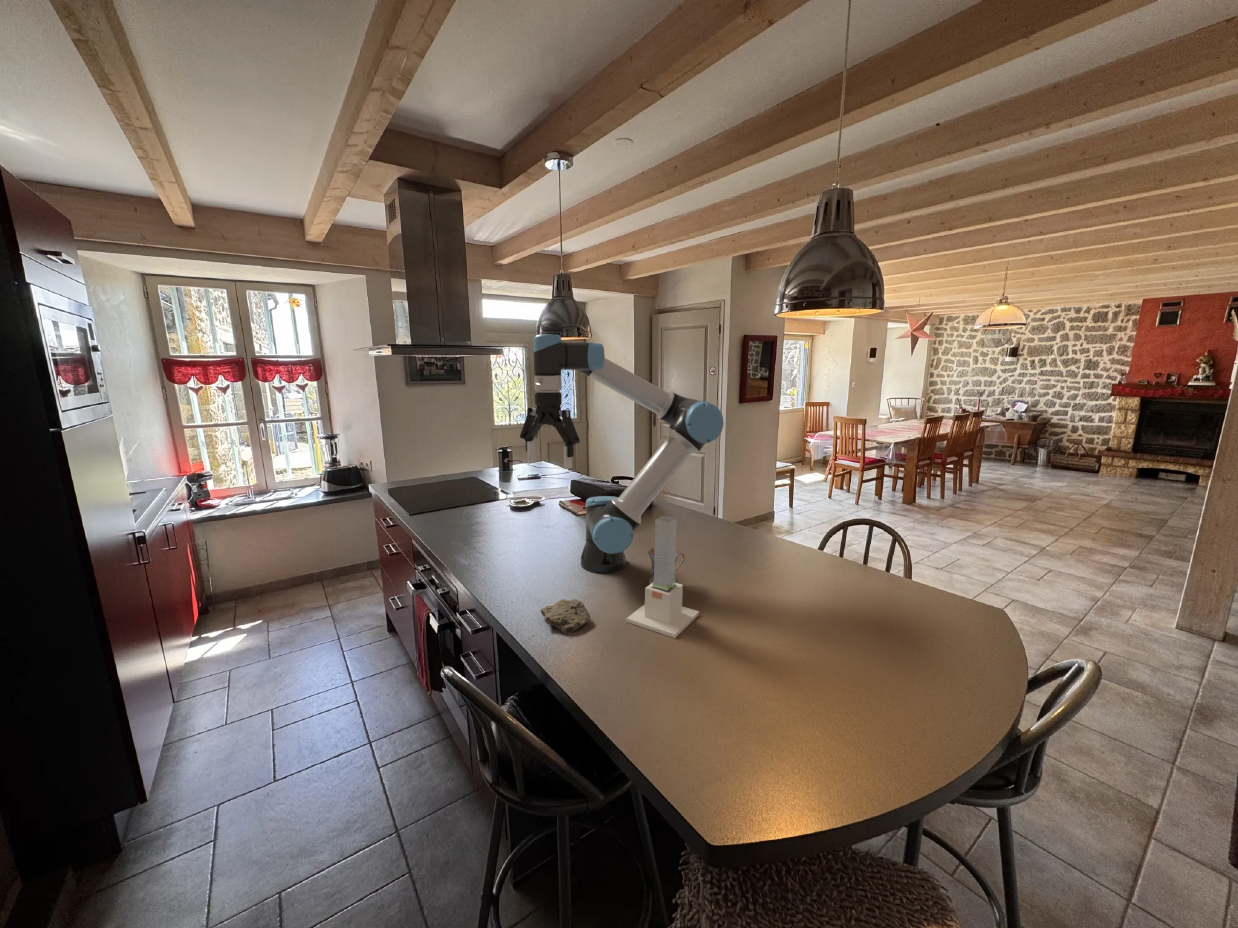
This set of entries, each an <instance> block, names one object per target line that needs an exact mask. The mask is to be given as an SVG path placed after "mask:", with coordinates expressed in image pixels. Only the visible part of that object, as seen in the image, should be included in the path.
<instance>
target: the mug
mask: <svg viewBox="0 0 1238 928" xmlns="http://www.w3.org/2000/svg"><path fill="white" fill-rule="evenodd" d="M647 552H648V555H649V558H650V562H651V568H652V569H651V570H652V571H651V575H650V578H649V580H648V584H649V585H650V584H651V583H653V582H654V554H655V547H651V548H650V549H649V550H648V551H647ZM680 555H681V556H682V558H681V560H680V562H679V564H678V565H677V566H675V572H676V571H677V570H678V569H679V568H680V567H681V566H682V565H683V562H684V560H685V555H684V553H682V552H680V551H679V550H678V549H676V558H675V565H676V563H677V560H678V558H679V556H680ZM675 583H678V582H677V578H675Z"/></svg>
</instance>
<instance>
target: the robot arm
mask: <svg viewBox="0 0 1238 928" xmlns="http://www.w3.org/2000/svg"><path fill="white" fill-rule="evenodd" d="M604 347H605V346H604V345H603V344H602V343H597V342H565V341H563V340H562V337H561V335H559V334H552V333H551V334H550V333H549V334H548V333H540V334H539V333H538V334H536V335H535V336H534V337H533V370H534V371H533V372H534V380H533V381H534V390H535V393H534V405H535V407H534V406H533V407H528V408H527V411H526V412H527V413H526V417H525V420H524V424H523V426H522V429H521V431H520V435H519V438H520V439H523V440H524V441H525V451H526V457H527V464H528V465H530V464H534V463H536V462H537V461H536V460H537V458H536V440H535V437H536V436H537V434H538V433H539V431H540V430H541V428H542V426H543V425H548V426H553V427H554V428H555V430H556V431H557V432H558V434H559V436H560V437H561V439H562V441H563V442H564V445H563V470H568V469H572V468H573V457H574V456H575V455H574V452H575V450H574V449H575V448H574V446H575V445H577V444H580V443H581V440H580V438H579V435H578V432H577V430H576V428H575V425H574V422H573V419H572V417H571V410H570V409H568V408H567V409H561V405H562V404H563V403H562V401H563V399H562V398H563V396H562V395H563V394H562V392H561V390H563V389H562V388H563V387H562V386H563V385H562V383H563V382H562V371H568V370H569V371H577V372H579V373H581V374H583V375H584V376H586V377H589V378H590V379H592V380H594V381H595V382H598V383H599V384H601V385H603V386H604V387H607V388H609V389H610V390H612V391H614V392H616V393H617V394H620V395H622V396H623V397H626V398H627V399H629V400H630V401H632V402H635V404H636V403H637V404H638V405H640V406H642V407H644V408H645V409H647V410H649V411H651V412H653V413H655V414H656V417H657V419H658V420H661V421H663V422H664V423H666V424H667V425H669V427H668V428H667V429H668V436H667V438H665V439H664V441H663V442H662V443H661V445H660V446H659V447H658V448H657V449H656V451H655V452H654V453H653V454H652V456H651V457H650V458H649V459H648V461H646V463H645V464H644V465H643V467H642V468H641V469H640V470H639V472H638V473H637V474H636V476H635V477H634V478H633V479H632V480H631V482H629V485H627V487H626V488H625V489H624V490H623V492H622V493H621V494H620V495H619V496H618V497H617V496H611V495H609V496H608V495H605V496H603V495H602V496H601V495H598V496H590V497H588V498H587V499H586V501H585V543H584V544H585V545H584V547H583V550H582V552H581V555H580V566H581V567H582V568H583V569H585V570H586V571H589V572H593V573H603V574H604V573H613V572H618V571H620V570H622V569H624V568H625V567H626V564H627V561H626V560H627V557H626V555H625V550H627V549H628V548H629V547H631V545H632V543H633V540H634V536H635V535H634V533H635V531H636V530H637V529H638V527H639V526H640V525H641V523H642V517H641V516H642V515H643V514H644V512H645V511H646V509H647V508H648V507H649V506H650V505H651V503H652V502H653V501H654V499H656V497H657V496H658V495H659V494H660V492H662V490H663V489H664V487H665V486H667V484H668V483H669V481H670V480H671V479H672V478H673V476H674V475H675V474H676V472H677V471H679V469H680V468H681V466H682V465H683V464H684V463H685V462H686V460H687V459H688V458H689V457H690V455H693V454H696V453H699V452H700V451H701V450H702V449H703V448H704V446H705V445H706V444H709V443H711V442H714V441H715V440H717V438H719V437H720V435H721V434H722V431H723V428H724V417H723V414H722V412H721V410H720V409H719V407H717V405H715V404H713V403H711V402H709V401H706V400H699V399H694V398H689V397H685V396H682V395H681V394H680V395H679V394H677V393H676V392H674V391H668V392H667V391H665V390H663V389H662V388H660V387H658V386H656V385H655V384H653V383H651V382H649V381H648V380H646V379H644V378H642V377H640V376H639V375H637V374H635V373H633V372H631V371H630V370H627V369H625V368H624V367H622V366H620V365H618V364H616V363H615V362H613V361H611V360H610V359H608V358H606V356H605V348H604Z"/></svg>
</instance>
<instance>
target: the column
mask: <svg viewBox="0 0 1238 928" xmlns="http://www.w3.org/2000/svg"><path fill="white" fill-rule="evenodd" d="M654 520H655V521H654V523H655V524H654V528H655V529H654V548H655V554H654V582H653V586H654V589H657V590H661V591H664V592H668V593H669V592H670V591H671V590H672V589H674V587H675V579H676V571H675V568H676V564H675V558H676V550H677V530H678V529H677V526H678V524H677V523H678V522H677V521H678V519H677V518H676V517H671V516H667V515H661V516H659V517H657V518H655V519H654Z"/></svg>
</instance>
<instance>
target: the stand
mask: <svg viewBox="0 0 1238 928" xmlns="http://www.w3.org/2000/svg"><path fill="white" fill-rule="evenodd" d="M644 588H645V589H644V604H643V605H642V606H640V607H639V608H638V609H636V610H635V611H634V612H632V614H630V615H629V616H627V617H626V622H627V623H629V624H631V625H634V626H638V627H642V628H644V629H646V630H649V631H652V632H656V633H658V634H661V635H664V636H667V637H670V638H674V639H676V637H678V636H679V635H680V634H681V633H682V632H683V631H684V630H686V628H687V627H688V626H689V625H690V624H691V623H692V622H693V621H694V620H695V619H696V618H698V616H699V615H700V611H699V610H696V609H693V608H689V607H686V606H683V593H684V592H683V590H684V589H683V588H684V585H683V584H682V583H678V582H677V583H675V587H674V589H672V590H671V591H670V592H669V593H668V592H664V591H661V590H657V589H654V586H653V583H651V584H649V585H647V586H646V587H644Z"/></svg>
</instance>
